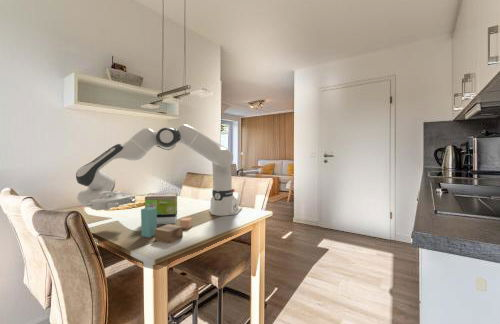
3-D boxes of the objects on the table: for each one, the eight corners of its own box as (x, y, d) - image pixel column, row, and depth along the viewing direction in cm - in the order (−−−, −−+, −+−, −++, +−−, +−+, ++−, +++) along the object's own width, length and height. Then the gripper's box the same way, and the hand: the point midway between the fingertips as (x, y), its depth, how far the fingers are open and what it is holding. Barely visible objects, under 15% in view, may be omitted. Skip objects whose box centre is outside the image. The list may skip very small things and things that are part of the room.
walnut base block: (169, 234, 110) (168, 223, 110) (182, 237, 107) (182, 226, 106) (155, 240, 103) (154, 229, 103) (169, 244, 100) (168, 232, 99)
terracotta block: (183, 225, 123) (183, 217, 123) (192, 225, 123) (192, 217, 123) (180, 228, 119) (180, 220, 119) (189, 228, 118) (188, 220, 118)
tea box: (144, 225, 123) (144, 196, 122) (148, 219, 132) (148, 192, 132) (175, 223, 126) (175, 195, 125) (177, 218, 135) (177, 192, 135)
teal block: (149, 232, 112) (148, 207, 111) (157, 234, 110) (156, 208, 110) (141, 236, 108) (141, 209, 107) (149, 237, 106) (148, 210, 105)
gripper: (83, 197, 109) (105, 200, 103) (122, 190, 127) (143, 193, 122) (83, 211, 109) (105, 215, 104) (123, 202, 128) (143, 205, 123)
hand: (126, 203), depth 113 cm, fingers open, 8 cm apart
